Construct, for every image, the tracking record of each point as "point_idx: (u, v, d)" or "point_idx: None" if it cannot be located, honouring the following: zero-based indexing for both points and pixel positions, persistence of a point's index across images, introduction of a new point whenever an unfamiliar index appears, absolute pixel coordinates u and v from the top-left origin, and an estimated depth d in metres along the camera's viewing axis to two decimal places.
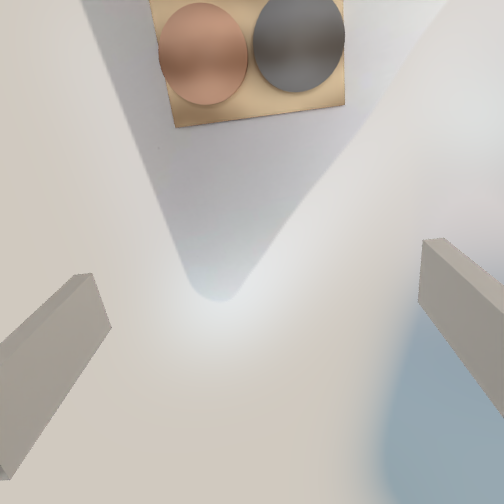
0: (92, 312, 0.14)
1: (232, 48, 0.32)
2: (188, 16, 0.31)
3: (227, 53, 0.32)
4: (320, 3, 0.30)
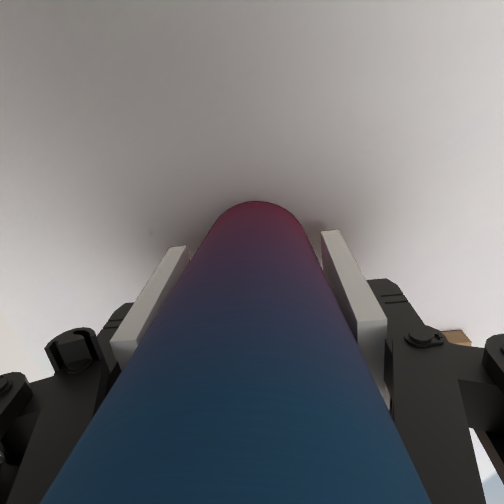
0: None
1: None
2: None
3: None
4: None
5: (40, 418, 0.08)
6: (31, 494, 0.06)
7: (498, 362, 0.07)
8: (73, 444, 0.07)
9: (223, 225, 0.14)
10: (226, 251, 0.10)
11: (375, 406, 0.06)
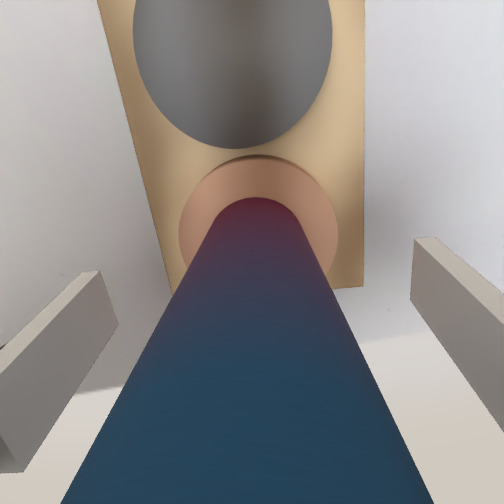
0: (100, 309, 0.14)
1: (245, 189, 0.17)
2: None
3: None
4: None
5: None
6: None
7: None
8: None
9: (225, 221, 0.14)
10: (229, 246, 0.11)
11: (365, 380, 0.07)
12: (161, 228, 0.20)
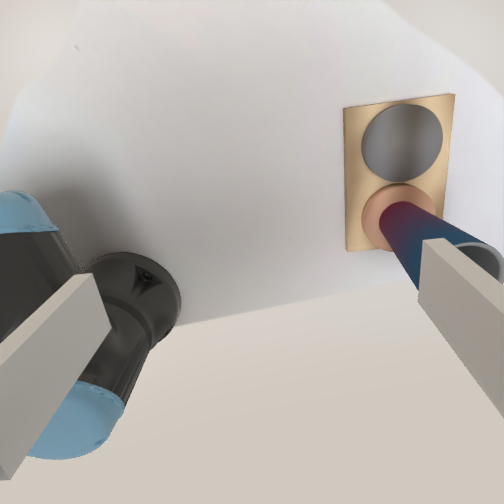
0: (92, 312, 0.14)
1: (399, 198, 0.41)
2: (372, 228, 0.43)
3: None
4: (380, 128, 0.38)
5: None
6: None
7: None
8: None
9: (401, 209, 0.39)
10: (418, 215, 0.35)
11: None
12: (349, 215, 0.44)
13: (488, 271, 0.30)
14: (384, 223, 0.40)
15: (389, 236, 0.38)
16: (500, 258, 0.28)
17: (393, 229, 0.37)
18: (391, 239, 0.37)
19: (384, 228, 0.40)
